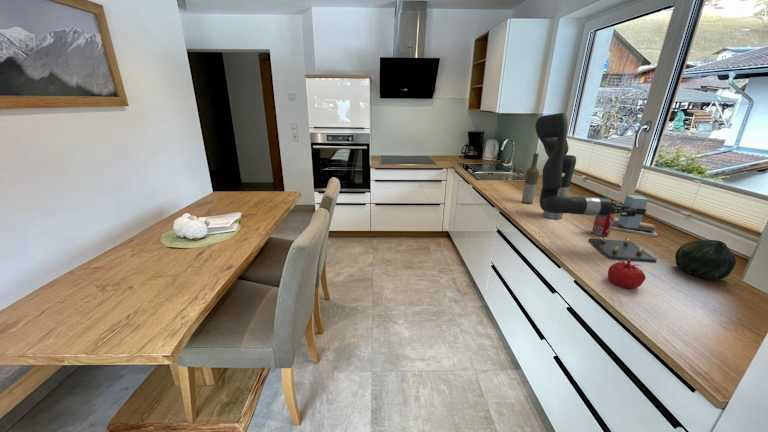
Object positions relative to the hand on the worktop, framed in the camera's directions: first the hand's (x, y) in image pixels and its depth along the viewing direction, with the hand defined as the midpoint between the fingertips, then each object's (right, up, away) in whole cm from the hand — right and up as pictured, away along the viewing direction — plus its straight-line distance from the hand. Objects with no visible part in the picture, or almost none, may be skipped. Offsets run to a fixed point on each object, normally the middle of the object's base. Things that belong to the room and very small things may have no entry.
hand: (640, 209), depth 122 cm
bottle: (-14, +5, +66) cm, 68 cm away
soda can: (+1, -11, +24) cm, 26 cm away
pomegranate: (-20, -26, -16) cm, 36 cm away
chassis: (-3, -17, +7) cm, 19 cm away
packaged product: (+20, -10, +29) cm, 36 cm away
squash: (+14, -24, -9) cm, 29 cm away
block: (-3, -6, +3) cm, 7 cm away
